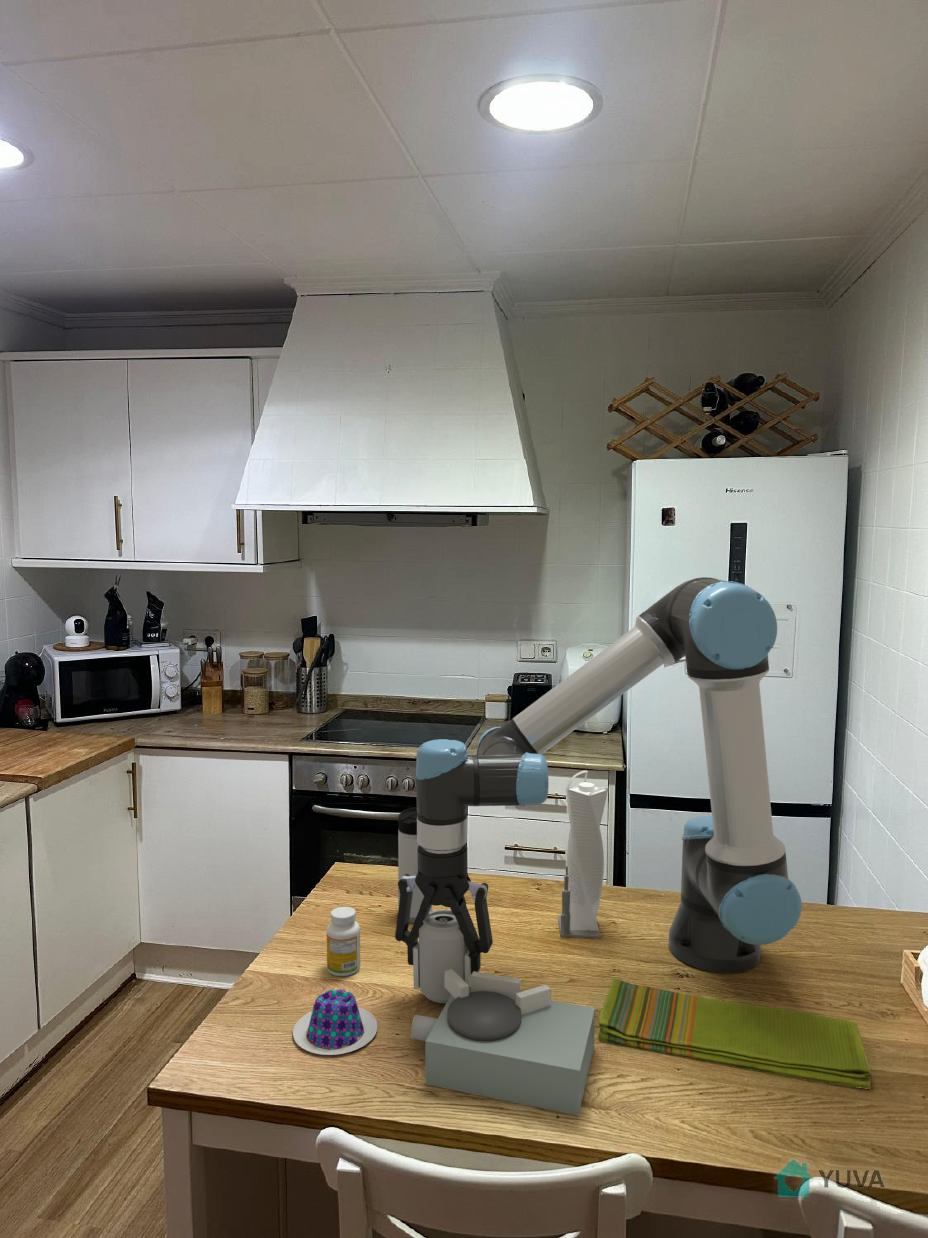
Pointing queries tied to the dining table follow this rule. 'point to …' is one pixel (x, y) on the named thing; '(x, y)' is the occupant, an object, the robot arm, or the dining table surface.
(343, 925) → the supplement bottle
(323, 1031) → the pudding
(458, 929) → the can
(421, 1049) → the dining table surface
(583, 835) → the skyscraper
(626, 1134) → the dining table surface
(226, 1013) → the dining table surface
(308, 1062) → the dining table surface
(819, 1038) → the dish towel
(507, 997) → the gearbox
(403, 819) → the travel mug
